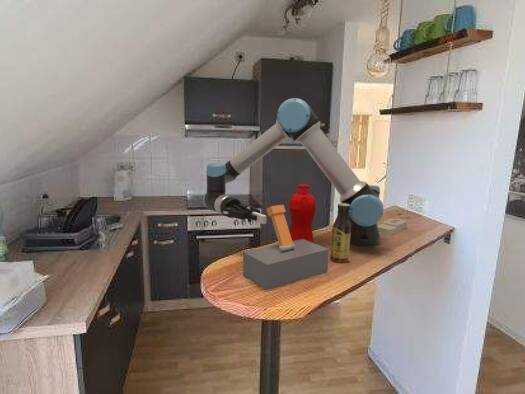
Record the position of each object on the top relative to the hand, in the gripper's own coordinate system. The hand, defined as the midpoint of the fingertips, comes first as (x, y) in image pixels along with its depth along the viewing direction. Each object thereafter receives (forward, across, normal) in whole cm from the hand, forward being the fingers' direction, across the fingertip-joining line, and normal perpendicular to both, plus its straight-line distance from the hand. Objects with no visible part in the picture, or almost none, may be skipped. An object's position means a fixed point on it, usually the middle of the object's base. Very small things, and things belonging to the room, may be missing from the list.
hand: (264, 220), depth 115 cm
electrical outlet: (0, -72, -15) cm, 73 cm away
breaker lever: (+12, 0, -6) cm, 13 cm away
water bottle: (-1, -17, -15) cm, 23 cm away
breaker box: (+12, 0, -14) cm, 19 cm away
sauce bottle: (+13, -23, -15) cm, 30 cm away
